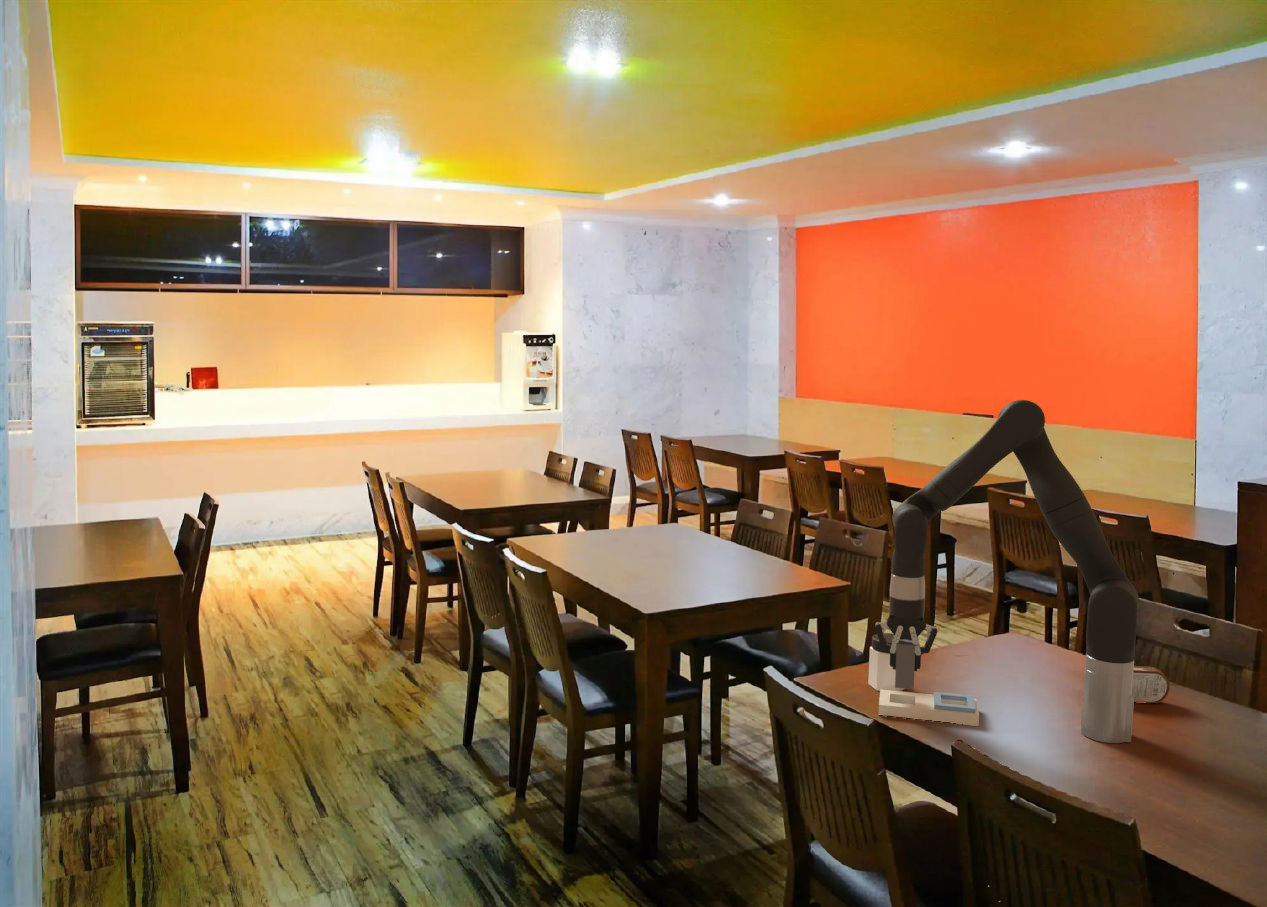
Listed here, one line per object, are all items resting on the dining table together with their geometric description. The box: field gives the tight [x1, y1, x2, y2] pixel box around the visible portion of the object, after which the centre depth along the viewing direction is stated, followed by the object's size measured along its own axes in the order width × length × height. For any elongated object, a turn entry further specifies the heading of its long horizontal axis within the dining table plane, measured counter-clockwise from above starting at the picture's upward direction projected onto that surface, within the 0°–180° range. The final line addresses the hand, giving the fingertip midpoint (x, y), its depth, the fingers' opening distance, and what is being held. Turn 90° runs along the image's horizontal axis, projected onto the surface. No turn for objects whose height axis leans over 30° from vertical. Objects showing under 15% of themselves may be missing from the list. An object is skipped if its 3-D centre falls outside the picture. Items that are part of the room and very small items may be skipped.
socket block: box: [878, 689, 980, 727], centre depth 228 cm, size 21×10×4 cm, turn 75°
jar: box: [868, 632, 907, 692], centre depth 244 cm, size 9×8×12 cm
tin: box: [1132, 665, 1171, 704], centre depth 235 cm, size 15×3×8 cm, turn 84°
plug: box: [895, 639, 915, 690], centre depth 228 cm, size 4×4×10 cm
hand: (904, 668), depth 228 cm, fingers closed on plug, 4 cm apart
